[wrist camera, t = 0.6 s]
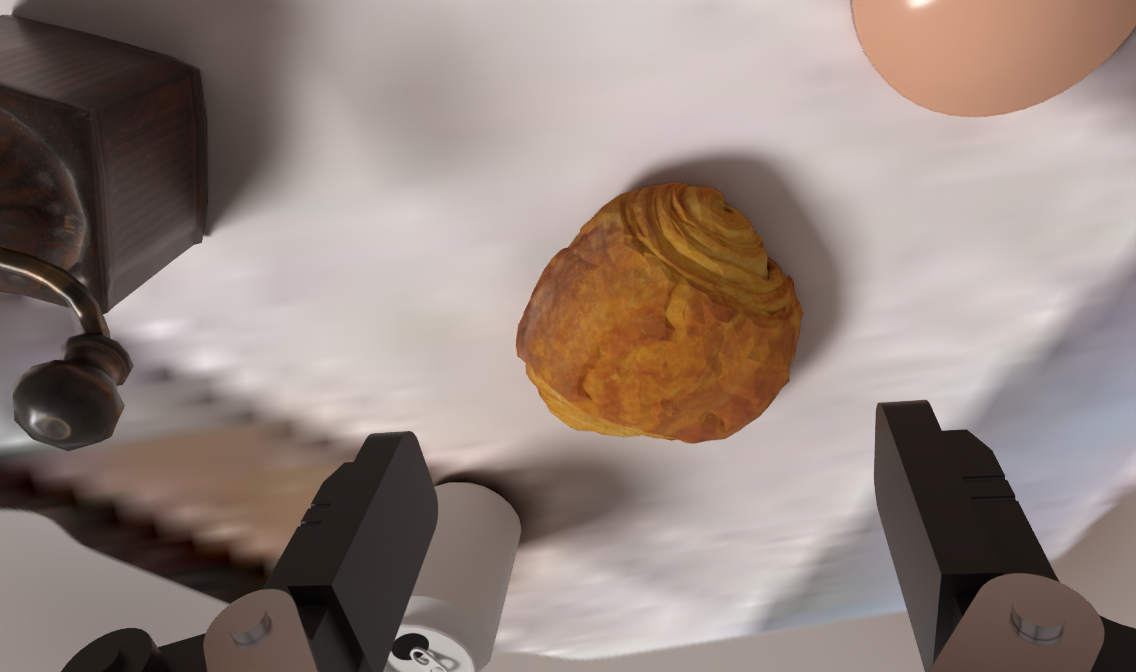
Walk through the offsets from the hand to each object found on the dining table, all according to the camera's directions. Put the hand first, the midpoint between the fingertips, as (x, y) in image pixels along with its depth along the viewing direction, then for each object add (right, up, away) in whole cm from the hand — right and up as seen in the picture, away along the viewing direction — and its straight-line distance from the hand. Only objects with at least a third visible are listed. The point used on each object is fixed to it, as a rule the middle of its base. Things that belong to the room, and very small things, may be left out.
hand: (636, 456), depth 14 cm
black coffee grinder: (-24, +12, +29) cm, 40 cm away
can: (-8, -10, +41) cm, 43 cm away
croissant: (+4, +4, +31) cm, 31 cm away
